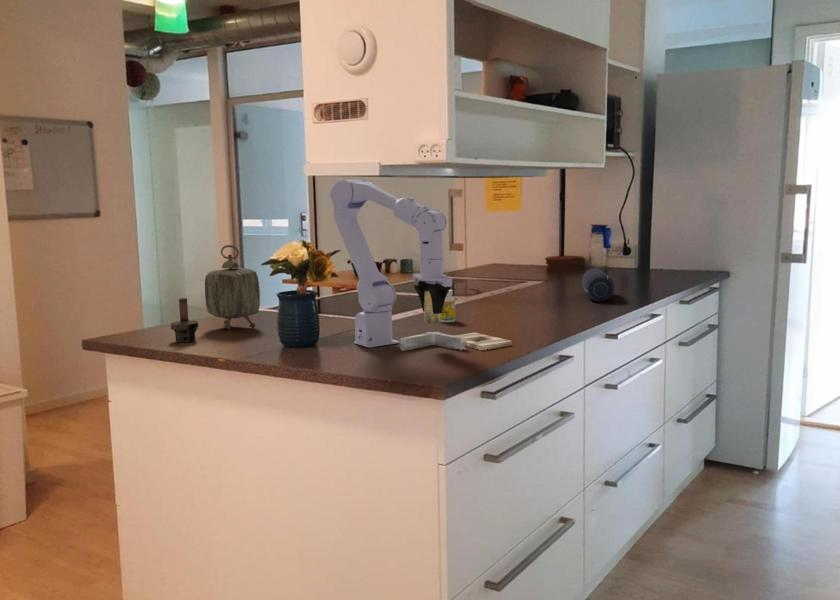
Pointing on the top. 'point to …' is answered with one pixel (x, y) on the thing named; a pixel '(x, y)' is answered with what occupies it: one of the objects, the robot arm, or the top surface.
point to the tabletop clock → (232, 291)
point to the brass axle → (429, 309)
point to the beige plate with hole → (484, 341)
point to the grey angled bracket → (432, 341)
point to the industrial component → (184, 324)
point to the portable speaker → (597, 284)
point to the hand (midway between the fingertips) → (432, 312)
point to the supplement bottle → (448, 309)
